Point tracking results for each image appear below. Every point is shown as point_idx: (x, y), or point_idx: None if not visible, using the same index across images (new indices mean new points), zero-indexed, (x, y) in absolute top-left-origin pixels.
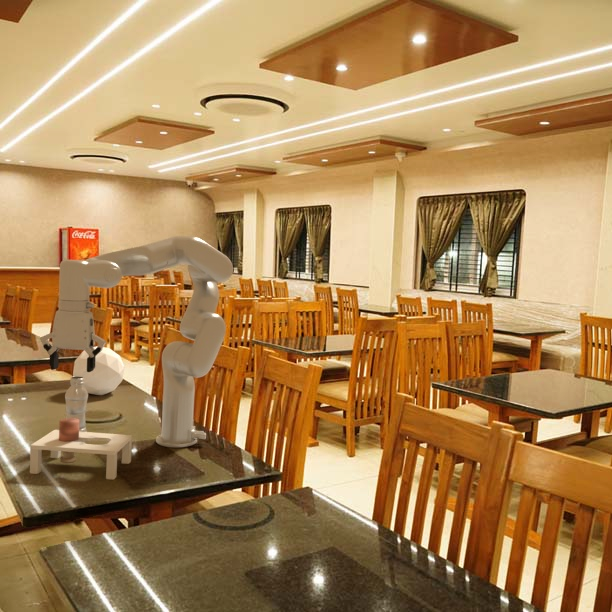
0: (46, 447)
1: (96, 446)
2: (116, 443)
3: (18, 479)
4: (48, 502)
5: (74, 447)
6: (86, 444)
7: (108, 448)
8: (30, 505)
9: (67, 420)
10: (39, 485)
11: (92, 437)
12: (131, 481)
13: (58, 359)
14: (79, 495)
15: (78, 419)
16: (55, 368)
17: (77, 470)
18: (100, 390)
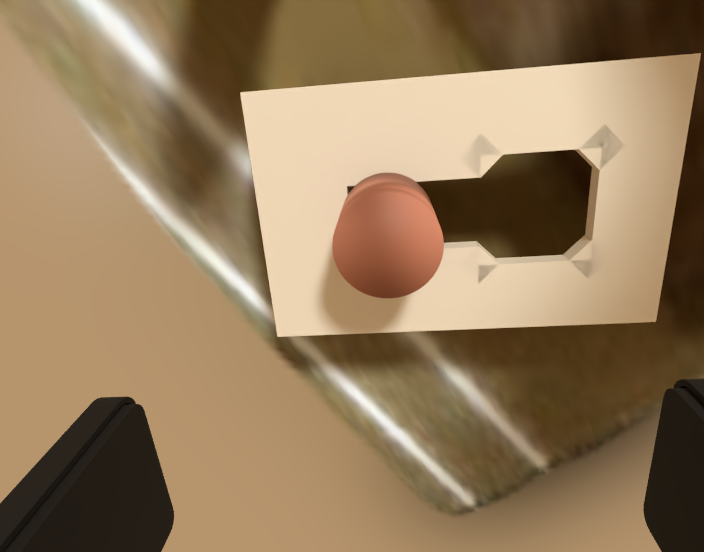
0: (345, 331)
1: (555, 285)
2: (639, 219)
3: (295, 339)
4: (464, 456)
5: (464, 319)
6: (500, 270)
7: (617, 295)
8: (427, 477)
9: (373, 244)
10: (381, 366)
11: (489, 162)
12: (670, 273)
13: (64, 497)
14: (529, 404)
15: (425, 207)
16: (159, 475)
17: (440, 222)
18: None
